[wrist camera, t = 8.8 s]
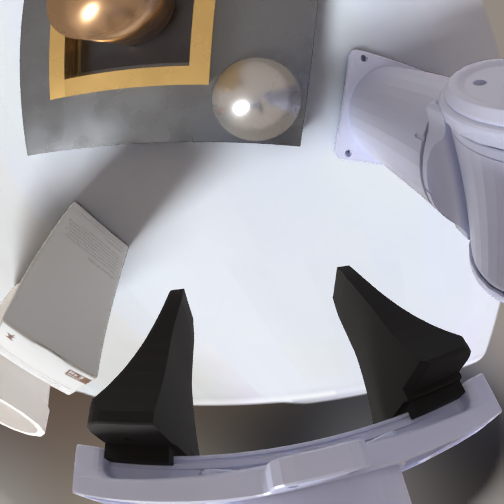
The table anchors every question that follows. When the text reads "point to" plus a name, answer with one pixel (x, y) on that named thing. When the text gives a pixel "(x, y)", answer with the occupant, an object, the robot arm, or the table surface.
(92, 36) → the copper cylinder
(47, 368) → the skincare box
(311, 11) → the grey base with frame
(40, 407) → the foam cup
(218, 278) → the table surface
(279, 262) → the table surface
